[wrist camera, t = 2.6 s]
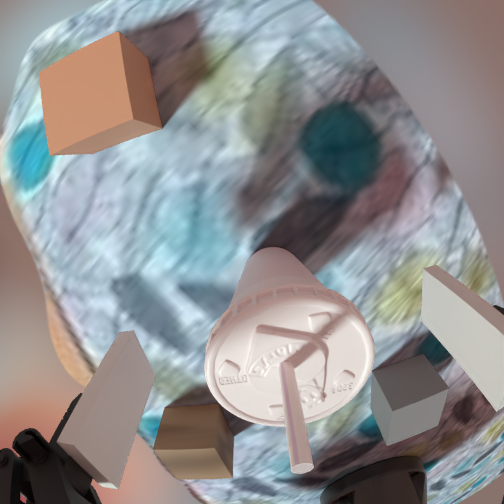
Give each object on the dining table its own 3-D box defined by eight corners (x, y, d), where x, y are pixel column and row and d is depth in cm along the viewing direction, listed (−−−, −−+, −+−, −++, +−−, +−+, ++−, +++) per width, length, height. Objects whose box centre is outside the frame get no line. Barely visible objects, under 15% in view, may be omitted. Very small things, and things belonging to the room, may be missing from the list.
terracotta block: (162, 128, 16) (133, 119, 12) (93, 153, 17) (50, 155, 12) (148, 58, 15) (118, 30, 10) (81, 86, 15) (39, 72, 10)
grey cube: (416, 391, 23) (437, 425, 19) (370, 407, 24) (386, 446, 19) (422, 352, 22) (449, 388, 17) (371, 370, 22) (392, 411, 17)
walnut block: (233, 435, 24) (232, 477, 20) (184, 439, 25) (177, 479, 20) (218, 402, 23) (214, 448, 18) (164, 406, 23) (153, 449, 18)
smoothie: (290, 205, 18) (397, 335, 5) (337, 287, 20) (439, 459, 6) (202, 260, 19) (130, 451, 6) (256, 333, 21) (267, 526, 7)
